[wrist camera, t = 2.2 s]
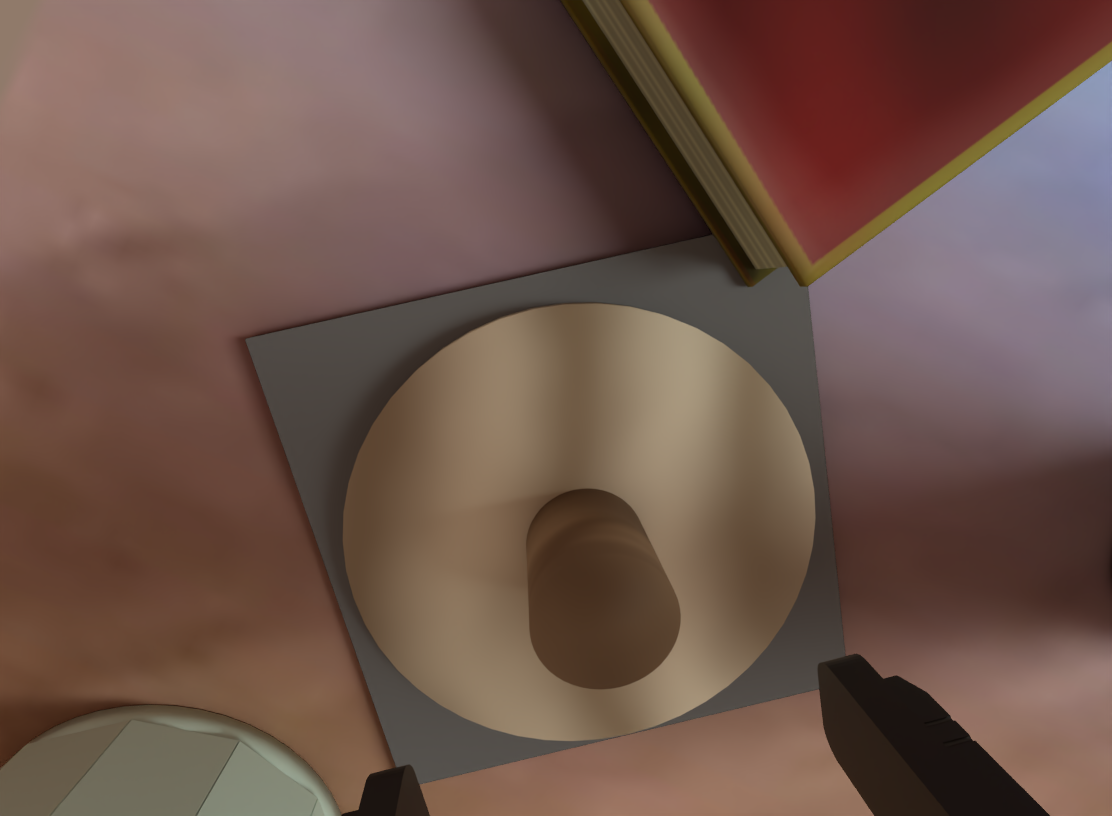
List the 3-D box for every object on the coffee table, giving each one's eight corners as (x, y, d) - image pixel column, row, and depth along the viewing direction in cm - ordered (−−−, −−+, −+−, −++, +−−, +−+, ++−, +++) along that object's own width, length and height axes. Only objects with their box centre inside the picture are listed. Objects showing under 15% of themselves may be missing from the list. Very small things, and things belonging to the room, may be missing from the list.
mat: (791, 216, 19) (800, 215, 18) (839, 671, 23) (848, 682, 23) (253, 336, 18) (244, 339, 18) (406, 775, 23) (403, 788, 22)
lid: (773, 252, 18) (878, 247, 13) (822, 666, 22) (918, 791, 17) (286, 363, 18) (192, 403, 13) (422, 761, 22) (393, 917, 17)
